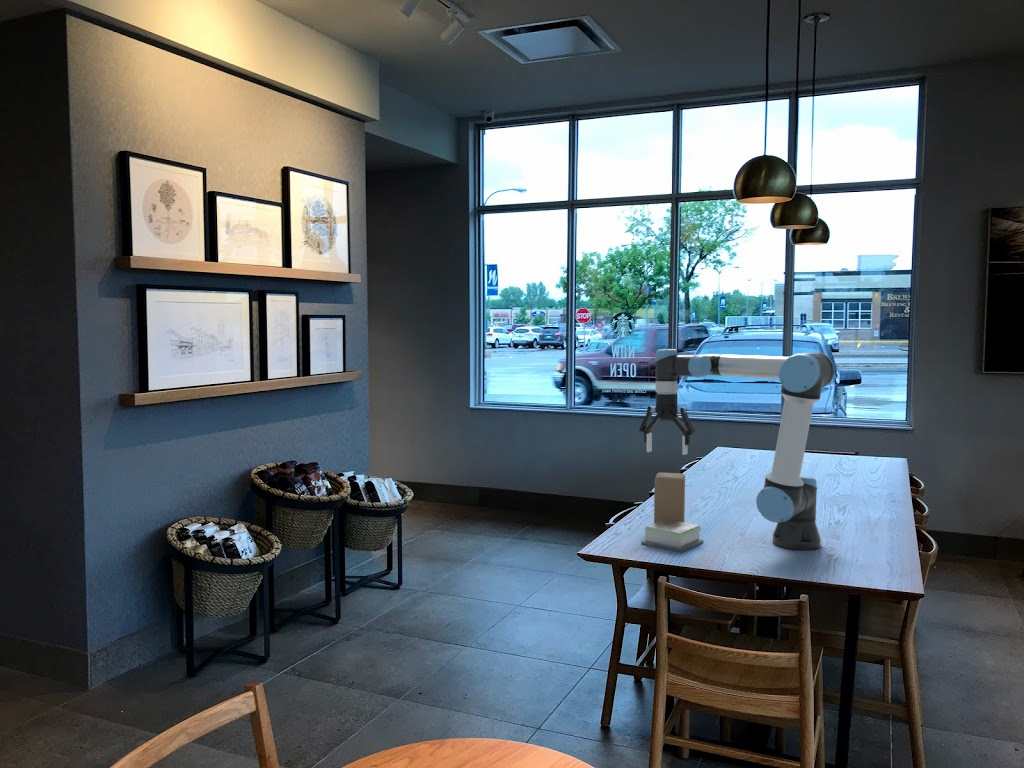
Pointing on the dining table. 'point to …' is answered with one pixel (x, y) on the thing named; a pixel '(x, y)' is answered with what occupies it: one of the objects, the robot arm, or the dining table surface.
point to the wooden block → (669, 497)
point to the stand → (672, 535)
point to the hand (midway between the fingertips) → (666, 453)
